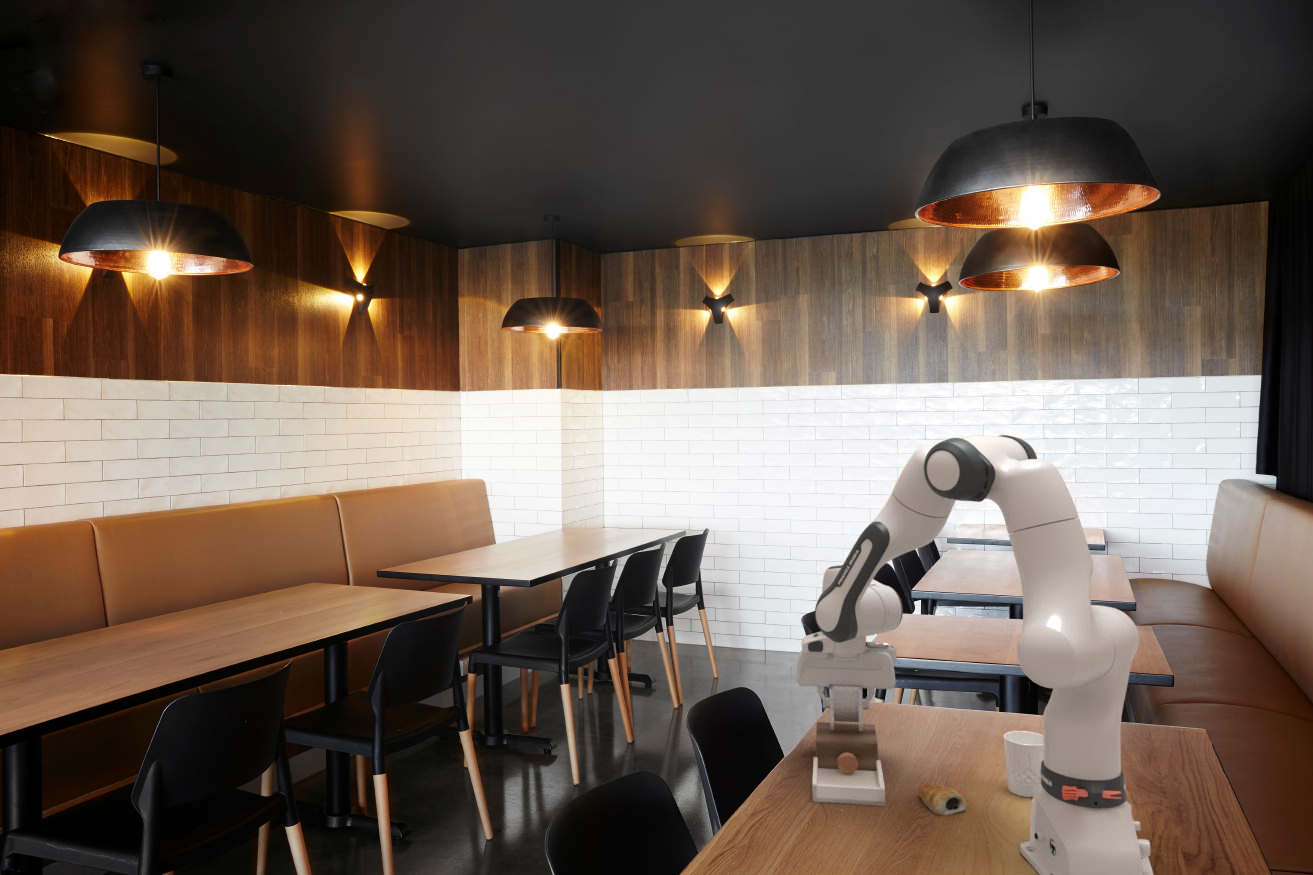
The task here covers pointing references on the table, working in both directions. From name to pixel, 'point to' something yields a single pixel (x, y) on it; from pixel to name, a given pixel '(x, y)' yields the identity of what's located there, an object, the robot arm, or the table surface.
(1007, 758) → the white cup
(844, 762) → the ball
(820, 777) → the tray
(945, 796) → the pastry
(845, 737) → the step block
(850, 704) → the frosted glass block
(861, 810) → the table surface
